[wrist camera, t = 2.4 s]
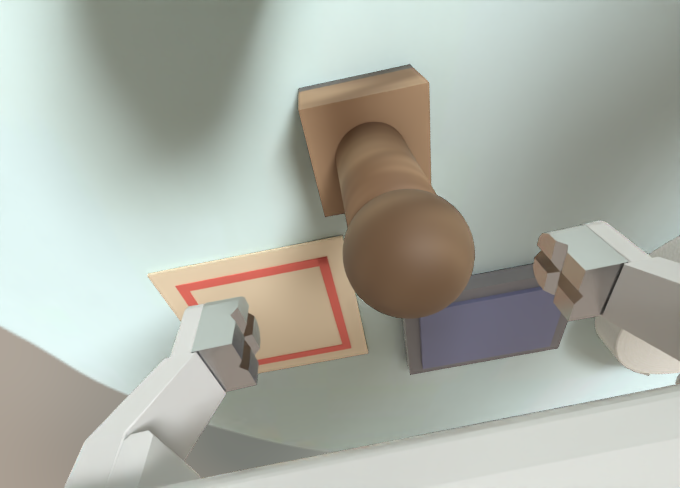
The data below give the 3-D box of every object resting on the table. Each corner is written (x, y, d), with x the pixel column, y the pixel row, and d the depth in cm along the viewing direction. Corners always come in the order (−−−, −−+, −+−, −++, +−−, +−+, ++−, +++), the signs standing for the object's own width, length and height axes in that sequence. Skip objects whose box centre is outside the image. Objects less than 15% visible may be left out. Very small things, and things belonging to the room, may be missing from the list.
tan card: (342, 235, 21) (343, 238, 21) (368, 351, 29) (368, 354, 28) (148, 273, 22) (146, 276, 21) (223, 377, 29) (223, 380, 29)
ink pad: (575, 255, 24) (589, 270, 23) (549, 336, 29) (560, 351, 28) (399, 289, 24) (404, 305, 23) (406, 361, 30) (411, 378, 29)
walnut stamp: (409, 64, 16) (547, 192, 7) (414, 166, 19) (513, 342, 10) (298, 88, 16) (297, 241, 7) (321, 185, 19) (340, 374, 10)
